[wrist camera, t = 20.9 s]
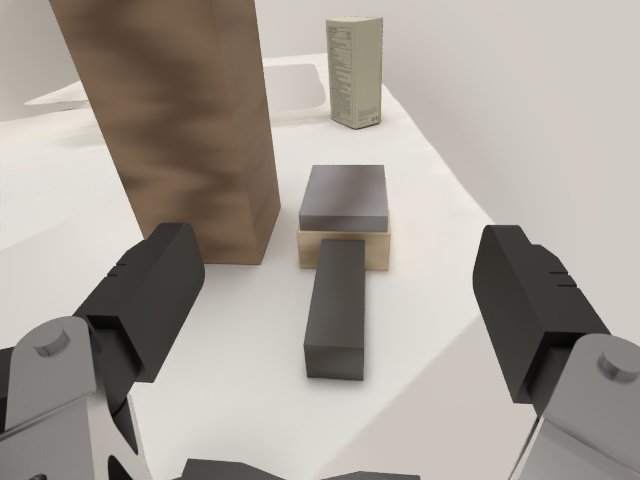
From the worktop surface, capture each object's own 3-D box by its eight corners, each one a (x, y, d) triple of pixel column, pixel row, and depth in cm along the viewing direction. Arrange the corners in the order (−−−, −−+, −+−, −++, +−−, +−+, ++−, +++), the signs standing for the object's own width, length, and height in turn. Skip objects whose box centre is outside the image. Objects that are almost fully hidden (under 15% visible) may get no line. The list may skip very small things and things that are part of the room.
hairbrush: (276, 374, 19) (265, 318, 16) (313, 209, 32) (310, 164, 30) (395, 382, 18) (402, 324, 16) (383, 209, 32) (386, 163, 29)
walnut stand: (153, 262, 27) (-241, -725, 9) (193, 206, 34) (10, -435, 16) (260, 264, 26) (61, -817, 8) (280, 206, 33) (194, -470, 15)
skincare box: (381, 123, 49) (386, 17, 42) (354, 130, 48) (354, 21, 40) (354, 112, 54) (354, 14, 47) (328, 118, 52) (324, 18, 45)
